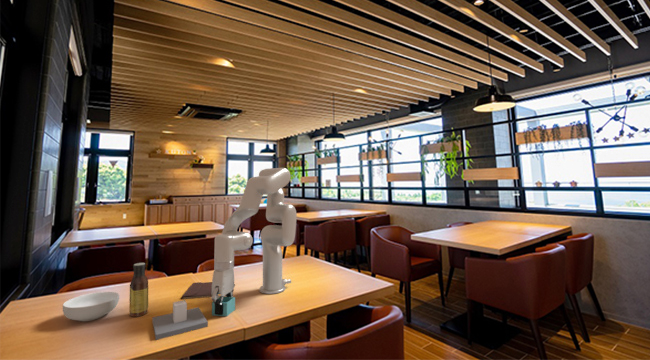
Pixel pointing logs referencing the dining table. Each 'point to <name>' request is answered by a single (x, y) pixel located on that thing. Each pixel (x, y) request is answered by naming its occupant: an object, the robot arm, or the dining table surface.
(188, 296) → the notebook
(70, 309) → the cereal bowl
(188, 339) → the dining table surface
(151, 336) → the dining table surface
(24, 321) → the dining table surface
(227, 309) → the teal upright block
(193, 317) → the post base
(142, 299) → the sauce bottle
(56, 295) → the dining table surface
